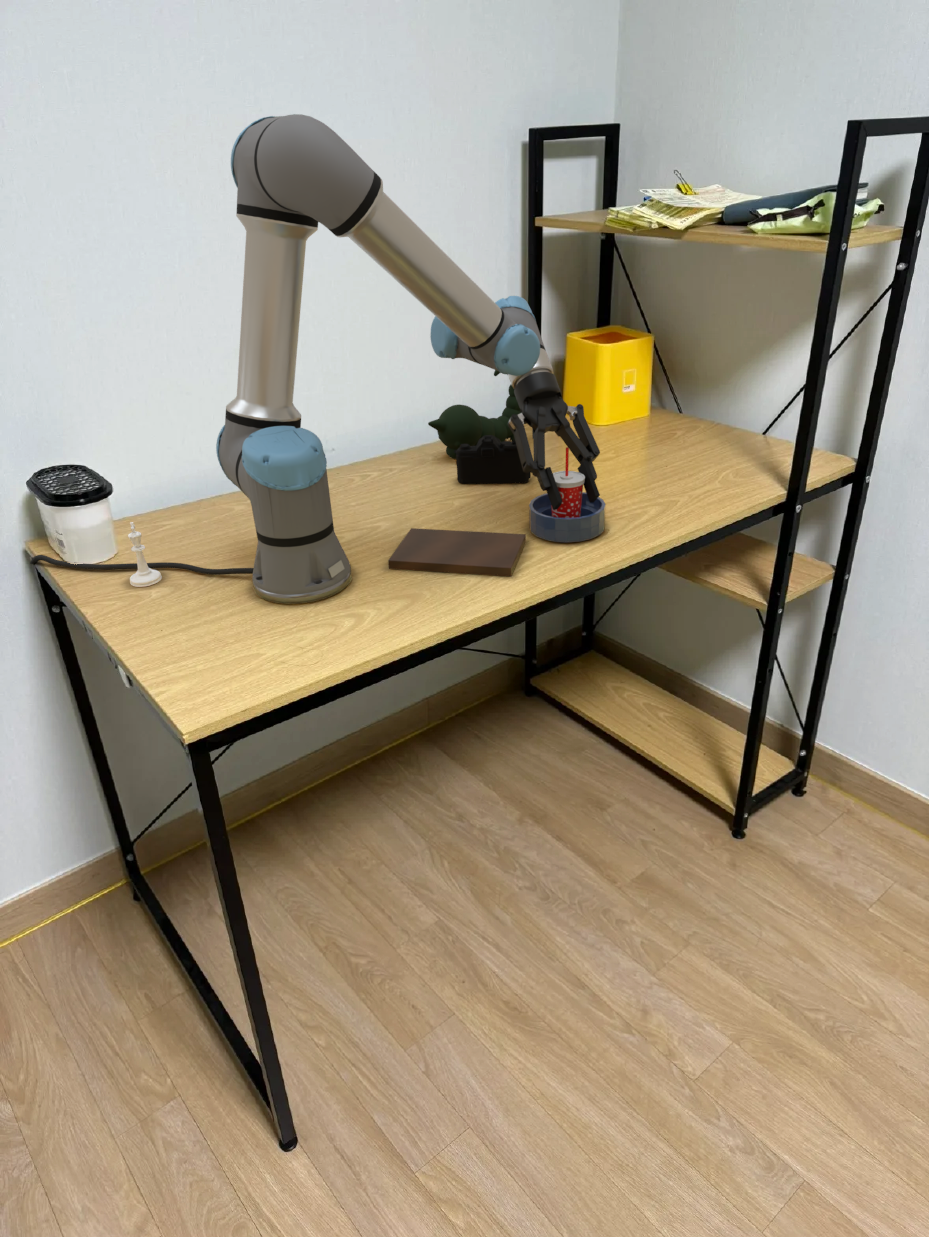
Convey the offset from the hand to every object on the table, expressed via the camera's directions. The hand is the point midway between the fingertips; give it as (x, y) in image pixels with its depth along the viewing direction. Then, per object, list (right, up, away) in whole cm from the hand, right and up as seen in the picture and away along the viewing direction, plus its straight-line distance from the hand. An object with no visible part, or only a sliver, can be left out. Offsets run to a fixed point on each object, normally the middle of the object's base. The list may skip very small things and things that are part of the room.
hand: (576, 502), depth 144 cm
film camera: (-13, +9, +30) cm, 34 cm away
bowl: (-1, -4, +6) cm, 7 cm away
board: (-19, -9, -1) cm, 21 cm away
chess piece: (-70, -13, -4) cm, 71 cm away
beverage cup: (-1, -4, +6) cm, 7 cm away
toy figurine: (-15, +17, +44) cm, 50 cm away
